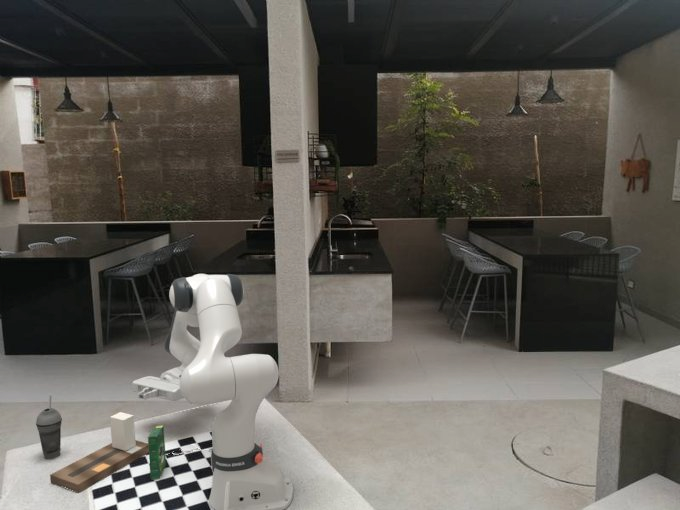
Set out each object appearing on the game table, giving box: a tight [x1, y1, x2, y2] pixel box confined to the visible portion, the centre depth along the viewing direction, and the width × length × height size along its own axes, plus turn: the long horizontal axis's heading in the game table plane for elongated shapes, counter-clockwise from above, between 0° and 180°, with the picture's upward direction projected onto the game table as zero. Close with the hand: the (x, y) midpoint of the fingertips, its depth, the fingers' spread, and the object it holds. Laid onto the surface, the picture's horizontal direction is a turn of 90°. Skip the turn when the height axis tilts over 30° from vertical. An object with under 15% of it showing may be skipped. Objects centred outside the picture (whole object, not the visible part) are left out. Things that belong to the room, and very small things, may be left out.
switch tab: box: [109, 411, 136, 451], centre depth 169 cm, size 4×6×10 cm, turn 63°
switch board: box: [49, 439, 149, 493], centre depth 162 cm, size 26×12×3 cm, turn 153°
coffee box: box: [147, 424, 167, 481], centre depth 158 cm, size 8×3×13 cm, turn 4°
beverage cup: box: [35, 395, 63, 461], centre depth 168 cm, size 7×7×20 cm
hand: (141, 396), depth 175 cm, fingers closed
